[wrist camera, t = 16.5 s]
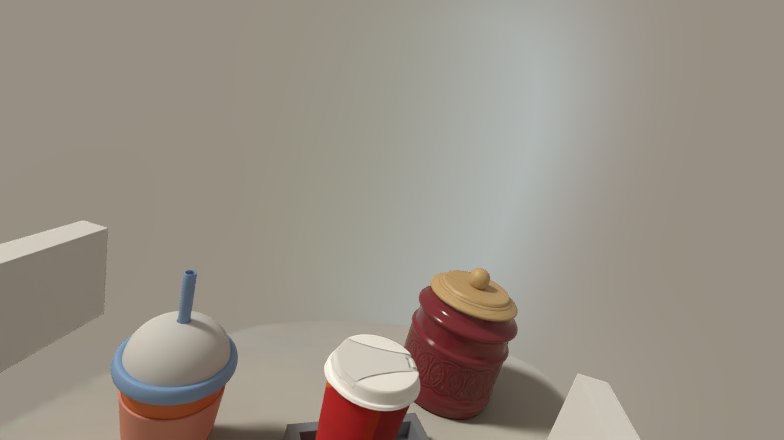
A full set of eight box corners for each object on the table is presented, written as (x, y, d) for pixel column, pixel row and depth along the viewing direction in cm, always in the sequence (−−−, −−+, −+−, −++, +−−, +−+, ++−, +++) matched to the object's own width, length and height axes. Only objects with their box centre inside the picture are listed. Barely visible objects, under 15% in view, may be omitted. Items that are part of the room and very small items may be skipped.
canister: (505, 401, 55) (553, 289, 50) (445, 438, 46) (497, 304, 41) (437, 345, 64) (472, 245, 59) (375, 366, 55) (411, 250, 50)
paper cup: (371, 452, 40) (409, 334, 36) (388, 533, 33) (438, 398, 29) (292, 452, 38) (324, 326, 34) (292, 540, 31) (333, 393, 27)
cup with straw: (160, 399, 41) (180, 237, 35) (240, 433, 39) (273, 271, 34) (73, 474, 32) (84, 274, 27) (173, 521, 31) (203, 320, 26)
